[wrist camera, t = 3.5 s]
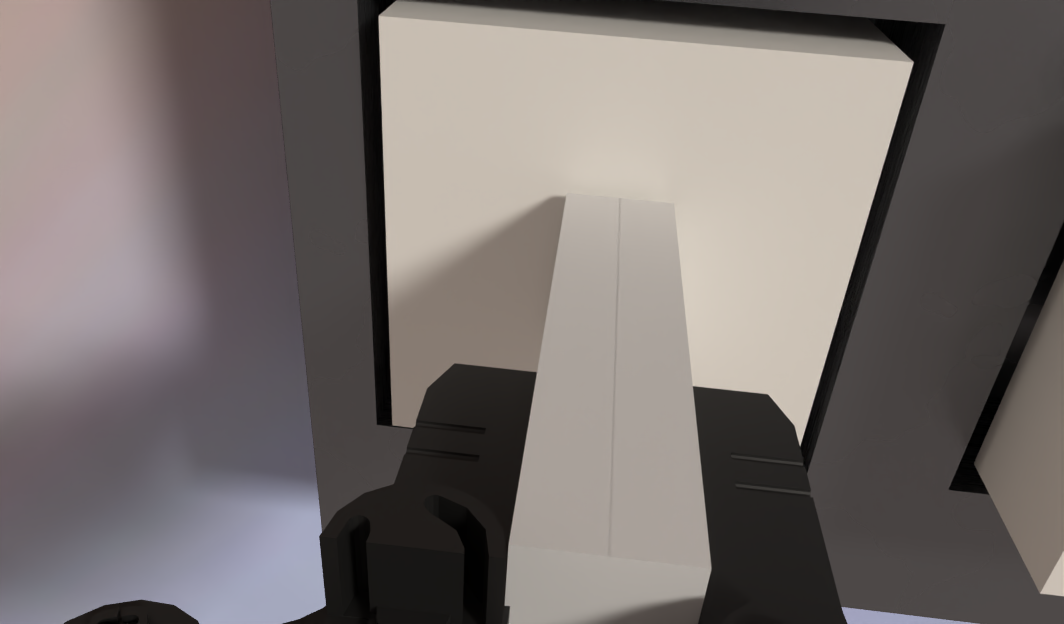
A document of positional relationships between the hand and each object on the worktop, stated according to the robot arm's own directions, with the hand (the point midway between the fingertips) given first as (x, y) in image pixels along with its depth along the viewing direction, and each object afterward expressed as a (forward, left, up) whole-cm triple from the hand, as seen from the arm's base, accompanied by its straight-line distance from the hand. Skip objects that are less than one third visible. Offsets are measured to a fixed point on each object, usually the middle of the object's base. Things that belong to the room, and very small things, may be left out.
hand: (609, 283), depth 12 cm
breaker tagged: (0, 0, -3) cm, 3 cm away
